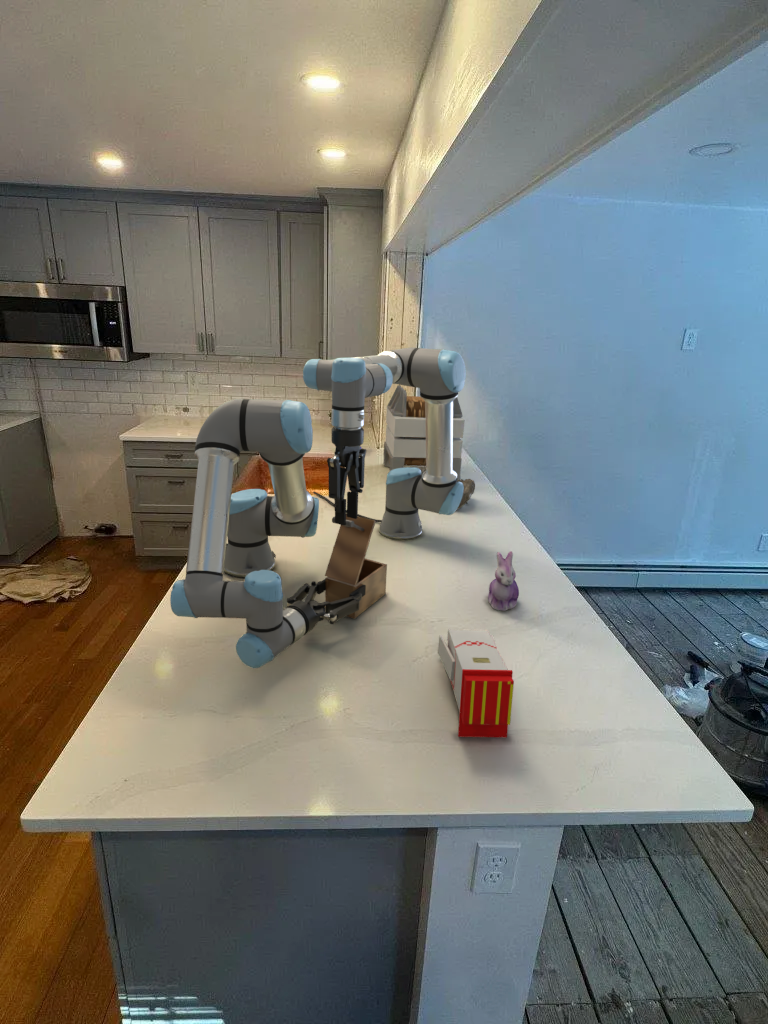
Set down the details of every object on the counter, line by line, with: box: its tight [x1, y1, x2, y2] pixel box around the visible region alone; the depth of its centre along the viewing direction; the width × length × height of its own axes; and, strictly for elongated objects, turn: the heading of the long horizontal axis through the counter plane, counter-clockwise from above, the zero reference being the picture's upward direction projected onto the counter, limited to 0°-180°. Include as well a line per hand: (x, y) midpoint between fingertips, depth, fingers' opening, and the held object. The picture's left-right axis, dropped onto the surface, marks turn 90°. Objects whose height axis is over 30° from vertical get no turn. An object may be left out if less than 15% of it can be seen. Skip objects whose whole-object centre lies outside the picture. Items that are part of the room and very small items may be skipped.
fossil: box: [457, 478, 476, 510], centre depth 232 cm, size 22×10×15 cm
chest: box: [324, 557, 388, 620], centre depth 151 cm, size 16×9×9 cm, turn 151°
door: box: [324, 513, 377, 585], centre depth 141 cm, size 17×9×9 cm
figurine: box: [487, 550, 520, 612], centre depth 153 cm, size 9×10×15 cm
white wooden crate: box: [383, 384, 465, 480], centre depth 268 cm, size 34×33×41 cm
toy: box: [437, 628, 515, 738], centre depth 117 cm, size 12×13×30 cm
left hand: (348, 584), depth 147 cm, fingers closed on chest, 9 cm apart
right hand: (346, 520), depth 140 cm, fingers open, 5 cm apart
